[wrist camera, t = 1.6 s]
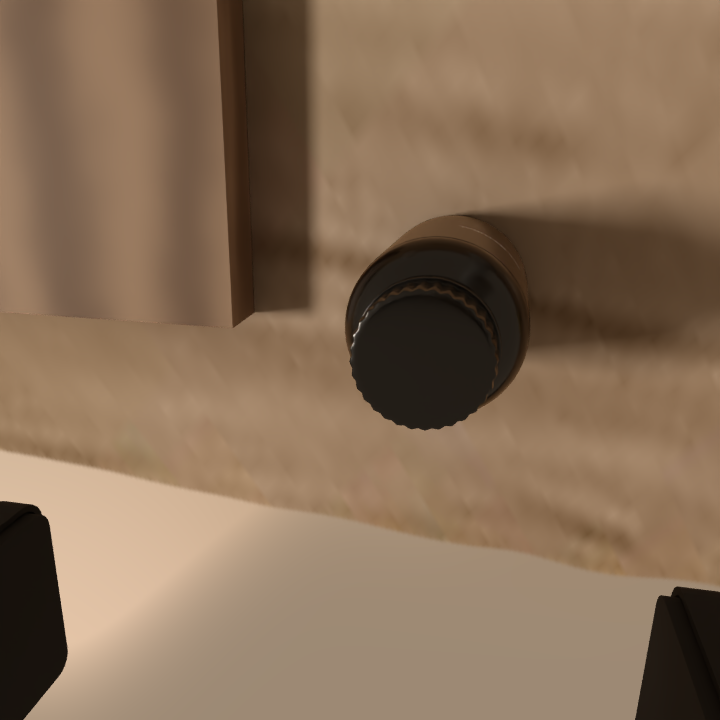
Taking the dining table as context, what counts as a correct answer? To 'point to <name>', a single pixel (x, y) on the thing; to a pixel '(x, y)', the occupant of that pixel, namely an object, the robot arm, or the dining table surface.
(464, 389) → the supplement bottle
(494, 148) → the dining table surface
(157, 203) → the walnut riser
